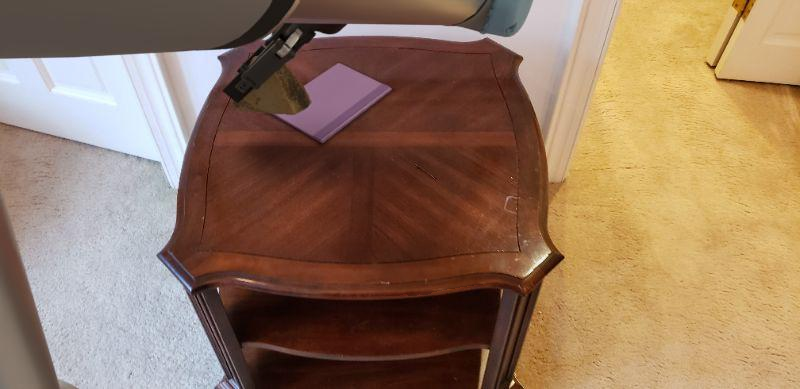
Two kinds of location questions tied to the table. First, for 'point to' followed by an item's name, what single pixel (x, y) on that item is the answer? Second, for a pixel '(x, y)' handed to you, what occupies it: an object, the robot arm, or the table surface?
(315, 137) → the lavender flat block
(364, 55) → the table surface
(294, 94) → the rock
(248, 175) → the table surface
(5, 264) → the robot arm
